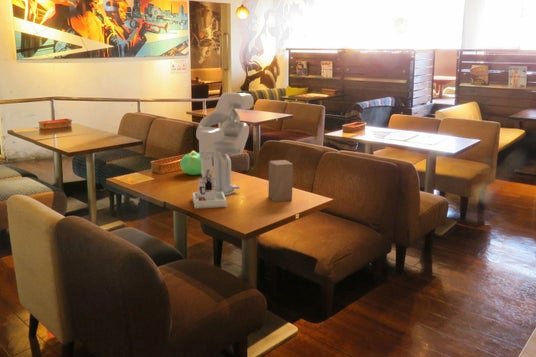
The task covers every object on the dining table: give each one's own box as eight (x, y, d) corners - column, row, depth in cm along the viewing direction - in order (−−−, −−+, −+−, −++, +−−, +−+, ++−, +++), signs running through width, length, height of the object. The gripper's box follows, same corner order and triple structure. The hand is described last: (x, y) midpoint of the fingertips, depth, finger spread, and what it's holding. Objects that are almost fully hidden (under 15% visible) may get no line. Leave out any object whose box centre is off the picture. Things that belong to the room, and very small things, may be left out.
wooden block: (268, 196, 272) (268, 160, 267) (285, 195, 275) (286, 159, 270) (274, 202, 263) (275, 164, 258) (292, 200, 266) (293, 163, 261)
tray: (222, 197, 269) (222, 191, 268) (226, 206, 254) (226, 200, 253) (192, 199, 265) (192, 192, 265) (194, 208, 250) (194, 201, 249)
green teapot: (200, 169, 327) (200, 147, 324) (214, 175, 315) (214, 152, 311) (176, 173, 316) (175, 151, 313) (189, 179, 304) (189, 155, 300)
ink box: (198, 202, 257) (198, 180, 254) (199, 199, 262) (198, 177, 259) (215, 202, 258) (215, 180, 254) (215, 199, 262) (215, 177, 259)
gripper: (198, 151, 260) (199, 182, 265) (200, 159, 244) (201, 192, 249) (212, 150, 262) (213, 182, 267) (216, 158, 246) (216, 191, 250)
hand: (207, 187), depth 258 cm, fingers open, 9 cm apart
